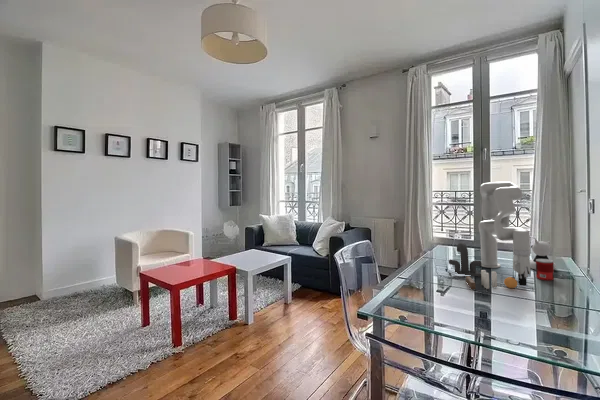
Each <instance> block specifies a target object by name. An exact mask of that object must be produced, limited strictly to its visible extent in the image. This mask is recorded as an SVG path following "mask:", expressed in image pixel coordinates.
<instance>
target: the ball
mask: <svg viewBox="0 0 600 400" xmlns="http://www.w3.org/2000/svg"><path fill="white" fill-rule="evenodd" d="M503 283H504V286H506V288H508V289H514V288H517V286H518V285H519V283H518V281H517V278H514V277H513V276H512V277H511V276H508V277H506V278H504V281H503Z"/></svg>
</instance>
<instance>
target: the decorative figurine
mask: <svg viewBox="0 0 600 400" xmlns="http://www.w3.org/2000/svg"><path fill="white" fill-rule="evenodd" d="M550 243H551V240H548V241H542V240H540V241H538V240H537V239H535V238H534V243H533V244H530V249H532V253H534V254H535V256H534V258H533V259H530V270H531V269H532V270H535V271H536V259H549V257H548V255H549V254H550V253H551V251H552V247H551V245H550ZM556 269H557V264H556V263H555V262H554V270H556Z"/></svg>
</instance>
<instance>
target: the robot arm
mask: <svg viewBox="0 0 600 400" xmlns="http://www.w3.org/2000/svg"><path fill="white" fill-rule="evenodd" d="M479 193H480V195H481V217H482V218H483V219H485V220H482V221H481V220H480V222H478V231H479V238H480V261H481V263H482V265H481V266H480V267H482V268H488V269H498V268H500V267H501V264H500V263H499V262H498V241H497V239H498V240H499V241H505V242H506V241H507V242H509V241H512V254H513V257H512V269H513V271H515V272H516V273H517V278H518V281H517V283H518V285H519V286H521V287H527V286H528V285H527V284H528V283H527V282H528V281H527V278H529V275H530V274H531V268H530V260H531V259H530V257H531V235H530V234H531V233H530V230H527V229H525V228H523V227H520V226H519V227H518V226H516V227H513V226H511V227H510V219H511V218H510V216H511V215H512V214H514V213H516V207H515V204H514V201H520V200H521V199H522V198H523V192H522V189H521V188H520V187H519V186H518V185H517V184H515V183H513V182H511V181H492V182H484V183H482V184H481V185H480V186H479ZM494 235H496V237H494Z"/></svg>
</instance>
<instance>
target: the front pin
mask: <svg viewBox="0 0 600 400" xmlns="http://www.w3.org/2000/svg"><path fill="white" fill-rule="evenodd" d="M497 274H498V273H497V271H493V270H492V271H491V287H492V288H494V287H497V288H498V279H497V278H498V275H497Z"/></svg>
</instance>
